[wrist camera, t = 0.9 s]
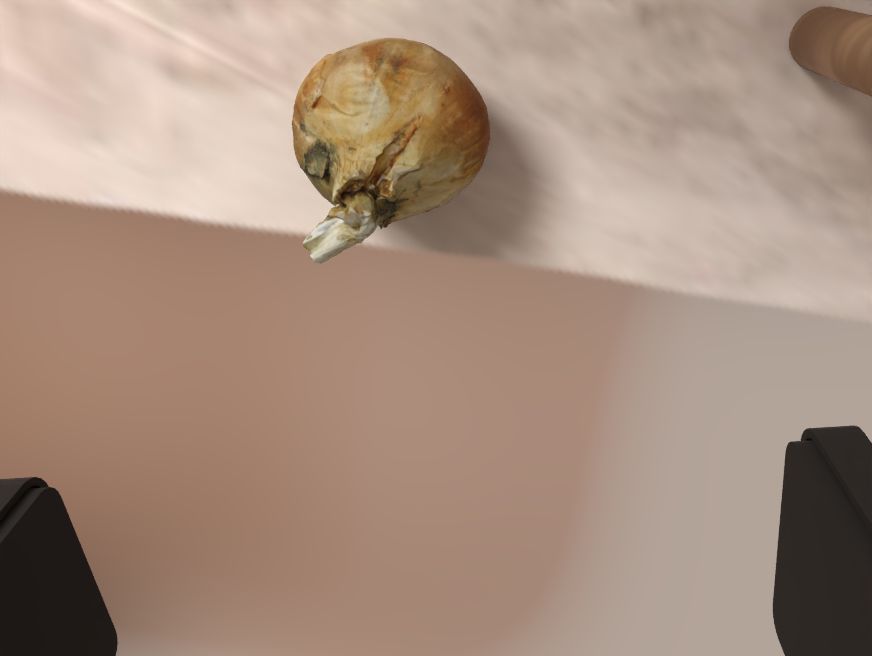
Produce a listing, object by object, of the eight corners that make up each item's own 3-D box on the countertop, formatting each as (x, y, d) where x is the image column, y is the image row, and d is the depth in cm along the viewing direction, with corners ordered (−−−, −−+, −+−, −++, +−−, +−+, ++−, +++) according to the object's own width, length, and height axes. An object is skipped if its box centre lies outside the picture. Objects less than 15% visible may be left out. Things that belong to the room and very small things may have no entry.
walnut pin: (790, 11, 32) (888, 36, 24) (853, 2, 32) (974, 24, 24) (788, 73, 33) (881, 117, 25) (849, 64, 33) (963, 106, 25)
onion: (501, 192, 36) (501, 255, 29) (329, 216, 37) (289, 282, 30) (477, 14, 33) (472, 36, 26) (290, 46, 34) (235, 75, 27)
